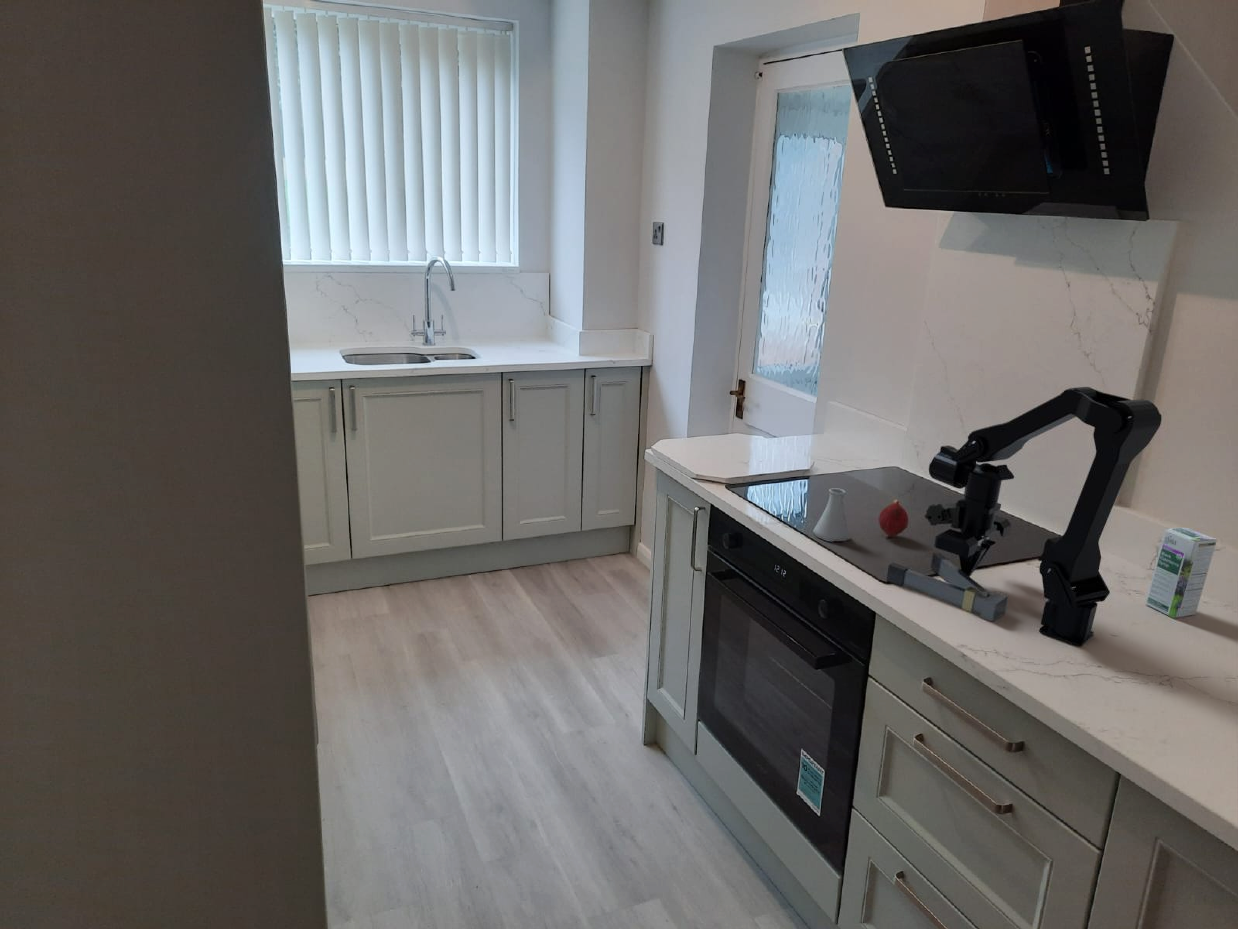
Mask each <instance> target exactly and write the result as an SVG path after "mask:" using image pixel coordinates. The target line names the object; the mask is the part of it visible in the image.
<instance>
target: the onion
mask: <svg viewBox="0 0 1238 929" xmlns="http://www.w3.org/2000/svg"><path fill="white" fill-rule="evenodd" d="M878 524H879V527H880V529H881V531H883V532H884V533H885V534H886V535H887V536H888V537H890V538H894V537H896V536H897V535H899V534H902V533H903V532H904V531H905V529H906V528H907V527H908V525H909V516H908V513H907V511H906V509H905V508H904V507H903V506H901V505H900V501H899V500H898V499H894V500H893V502H892V504H889V505H887V506H885V507H884V508H883V509H882V510H881V511H880V513H879V516H878Z"/></svg>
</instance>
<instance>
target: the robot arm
mask: <svg viewBox="0 0 1238 929" xmlns="http://www.w3.org/2000/svg"><path fill="white" fill-rule="evenodd" d="M1162 417H1163V416H1162V414H1161V413H1160V410H1159V408H1158V407H1157V406H1156V405H1155V404H1154V403H1153V402H1151V401H1150V400H1149V399H1144V398H1143V399H1130V398H1127V397H1123V396H1119V395H1115V394H1112V393H1108V392H1107V393H1106V392H1104V391H1101V390H1097V389H1094V388H1092V387H1090V386H1079V387H1076V386H1075V387H1069V388H1066V389H1064V390H1063V392H1061V393H1060V394H1058V395H1056V396H1054V397H1053V398H1051V399H1049V400H1047V401H1044V402H1043V403H1041V404H1039V405H1037V406H1035V407H1034V408H1031V409H1030V410H1028V411H1026V412H1024V413H1022V414H1021V415H1018V416H1017V417H1014V418H1013V419H1011V420H1009V421H1006V422H1002V423H998V424H993V425H989V426H986V427H982V428H979V429H975V430H973V431H971V432H970V433H969V435H968V436H967V441H966V442H965V443H964V444H962V446H961V447H960V448H959V449H957V448H956V447H954V446H951V445H942V446H940V449H939V452H938V453H937V454H935V456H933V458H932V460H931V462H929V465H928V474H929V475H930V477H931V478H932V479H933V480H935V481H938V482H940V483H942V484H945V485H948V486H950V487H953V488H955V489H958V490H959V489H964V491H963V497H962V498H961V499H959V500H958V501H956V502H953V503H949V502H948V503H938V504H935V503H933V504H931V505H928V508H927V509H926V510H925V511H926V514H925V515H924V518H925V520H927V522H929V523H930V526H937V525H949V524H950V527H951V528H953V529H951V528H949V529H947V530H945V531H943V532H941V533H939V534H938V535H936V536H935V539H934V544H933V546H934V548H936V549H938V550H942V551H944V552H948V553H951V554H954V555H957V556H958V558H959V563H960V570H961V571H963V572H964V573H965V574H967V575H968V576H969V577H970V578H971V576H972V575H973V573H974V572H975V570H976V569H977V568H978V566H979V565H980V564H981V563H982V561H983V560H984V559H985V557H987V555H988V553H989V552H990V551H991V550H992V549H993V547H994V546H996V544H997V542H996V541H993V540H991V539H989V538H990V536H989V535H990V534H992V533H994V532H997V531H999V536H1000V537H1002V538H1005V537H1007V536H1009V535H1011V534H1010V533H1011V528H1012V524H1011V522H1010V520H1009V519H1008V518H1005V517H1002V516H999V515H996V512H997V511H1000V510H1001V508H1002V503H999V496H1000V492H1001V486H1002V482H1003V481H1008V480H1014V479H1015V475H1014V474H1013V472H1012V470H1010V469H1009V468H1008V464H998V465H994V464H992V463H988V462H996V461H1006V460H1008V459H1010V458H1011V457H1013V456H1014V455H1016V454H1017V453H1018V452H1019V451H1021V450H1022V449H1023V447H1024V446H1025V444H1026V443H1027V442H1029V441H1030V440H1032V439H1034V438H1036V437H1037V436H1040V435H1042V434H1045V432H1046V433H1047V432H1048V431H1050V430H1052V429H1054V428H1056V427H1058V426H1060V425H1062V424H1064V423H1067V422H1069V421H1070V420H1072V419H1075V418H1077V419H1078V420H1080V421H1081V422H1082V423H1084V424H1085V425H1088V426H1091V427H1093V428H1094V430H1093V434H1092V436H1093V441H1094V447H1095V455H1094V457H1093V461H1092V463H1091V465H1090V467H1089V471H1088V473H1087V476H1086V478H1085V481H1084V484H1083V486H1082V489H1081V490H1080V491H1081V492H1080V493H1079V496H1078V499H1077V501H1076V503H1075V507H1074V509H1073V512H1072V514H1071V517H1070V519H1069V522H1068V525H1067V528H1066V530H1065V531H1064V533H1063V534H1062V535H1061V536H1057V537H1056V536H1055V537H1051V538H1047V539H1046V541H1045V542H1044V547H1043V552H1042V553H1041V555H1040V556H1039V557H1038V559H1037V561H1038V562H1040V564H1039V567H1038V569H1039V572H1038V573H1039V574H1040V575H1041V580H1042V589H1043V598H1045V599H1047V601H1045V603H1044V606H1043V610H1042V616H1041V619H1040V625H1041V627H1039V630H1038V632H1040V633H1042V634H1044V635H1045V636H1049V637H1052V638H1055V639H1057V640H1061V641H1062V642H1066V643H1068V644H1070V645H1073V646H1077V647H1082V646H1083V645H1084V644H1086V642H1088V641H1089V640H1090V639H1091V638H1092V637H1093V636H1094V633H1095V632H1094V631H1093V630H1092V628H1093V626H1094V625H1093V624H1094V622H1095V617H1096V612H1097V608H1098V602H1099V603H1101V602H1105V601H1106V599H1107V598H1108V596H1109V595H1110V594H1111V591H1110V589H1109V588H1108V585H1107V584H1106V581H1105V580H1104V577H1102V574H1101V572H1100V571H1099V570H1100V567H1101V566H1100V565H1101V561H1102V554H1101V549H1100V543H1099V542H1100V539H1101V536H1102V533H1103V531H1104V528H1105V526H1106V524H1107V523H1108V522H1107V521H1108V519H1109V516H1110V515H1111V512H1112V510H1113V507H1114V504H1115V502H1116V500H1117V498H1118V494H1119V492H1120V490H1121V488H1122V485H1123V483H1124V479H1125V477H1126V475H1127V473H1128V470H1129V468H1130V466H1131V463H1132V462H1133V460H1134V459H1135V458H1136V457H1137V456H1138V455H1139V454H1141V452H1142V451H1143V450H1144V449H1145V448H1146V447H1147V446H1149V444H1150V443H1151V441H1152V440H1153V437H1154V436H1155V435H1156V433H1157V432H1158V430H1159V429H1160V427H1161V424H1162ZM979 463H980V464H979ZM954 529H955V530H954ZM957 530H960V531H957Z"/></svg>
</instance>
